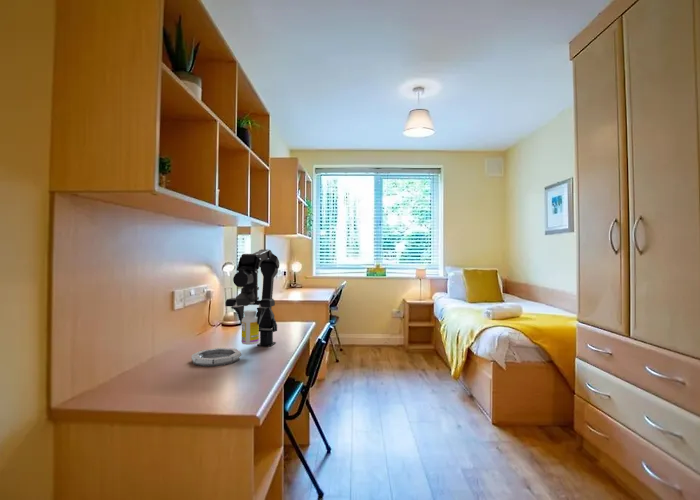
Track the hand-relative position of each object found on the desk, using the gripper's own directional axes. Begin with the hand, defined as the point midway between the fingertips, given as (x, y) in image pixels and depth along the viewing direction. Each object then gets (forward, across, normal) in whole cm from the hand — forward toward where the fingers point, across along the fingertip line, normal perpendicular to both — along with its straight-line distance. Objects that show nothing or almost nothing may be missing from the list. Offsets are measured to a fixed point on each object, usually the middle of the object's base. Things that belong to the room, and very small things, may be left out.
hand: (250, 324), depth 152 cm
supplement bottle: (+8, 0, 0) cm, 8 cm away
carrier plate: (+13, -11, -6) cm, 18 cm away
